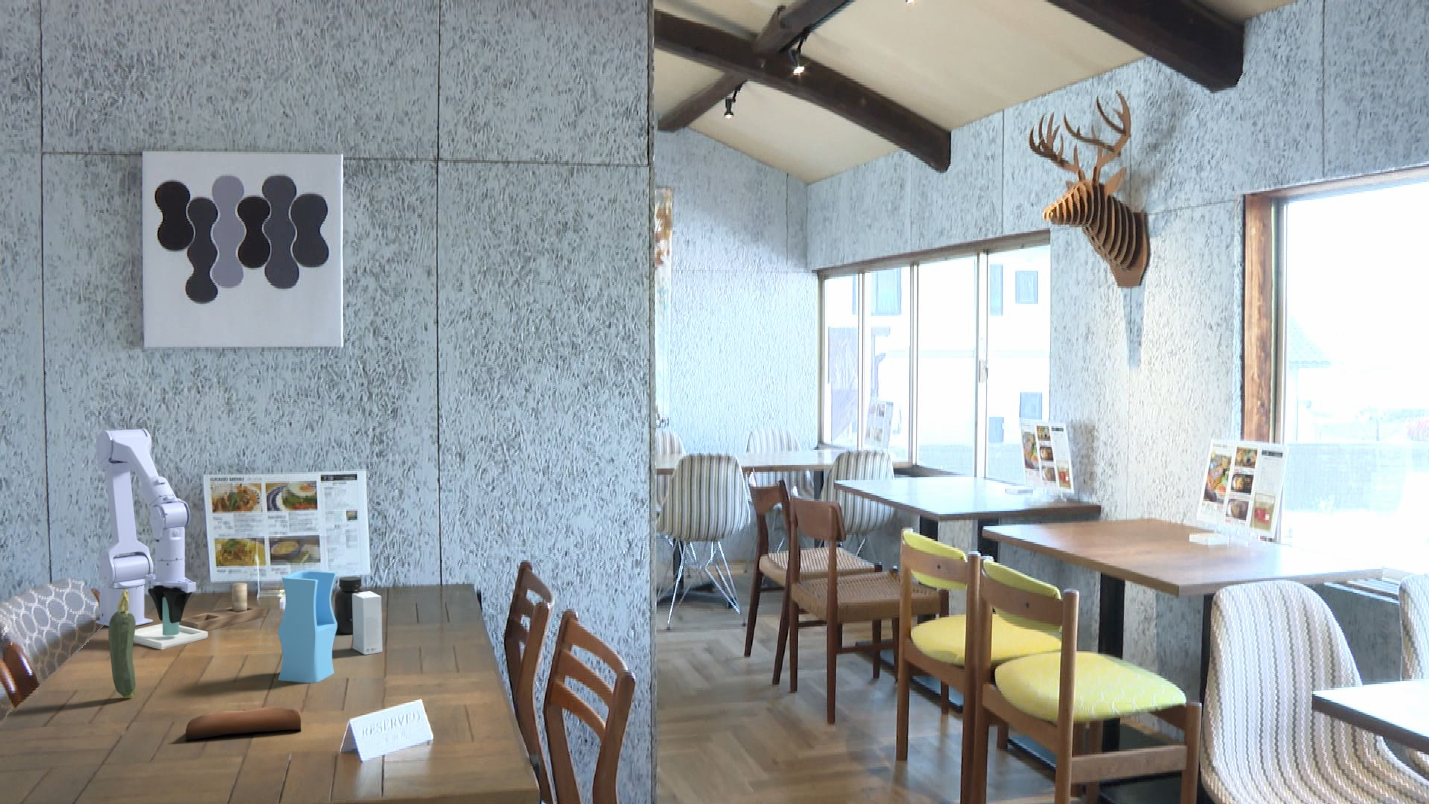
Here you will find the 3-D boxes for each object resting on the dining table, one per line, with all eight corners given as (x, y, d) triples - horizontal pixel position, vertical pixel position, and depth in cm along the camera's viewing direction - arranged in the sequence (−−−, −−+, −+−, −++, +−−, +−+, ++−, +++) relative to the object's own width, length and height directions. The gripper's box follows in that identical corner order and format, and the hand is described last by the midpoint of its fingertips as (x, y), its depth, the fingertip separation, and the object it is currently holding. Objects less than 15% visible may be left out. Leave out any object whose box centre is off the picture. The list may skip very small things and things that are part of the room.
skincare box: (383, 652, 240) (383, 595, 239) (362, 655, 237) (363, 598, 236) (371, 645, 245) (372, 590, 244) (351, 649, 242) (351, 592, 241)
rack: (197, 632, 251) (197, 623, 251) (177, 628, 255) (177, 619, 254) (265, 616, 267) (265, 607, 267) (246, 612, 270) (246, 603, 270)
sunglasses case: (302, 715, 199) (301, 689, 196) (301, 747, 194) (301, 721, 190) (189, 725, 193) (187, 698, 190) (186, 758, 188) (183, 731, 184)
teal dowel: (159, 634, 244) (159, 597, 244) (172, 631, 247) (172, 594, 246) (169, 636, 243) (169, 599, 242) (182, 633, 245) (182, 596, 245)
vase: (315, 683, 218) (315, 580, 216) (278, 680, 219) (278, 577, 218) (336, 672, 225) (337, 572, 224) (300, 668, 227) (301, 569, 226)
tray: (120, 639, 244) (120, 633, 244) (167, 628, 254) (167, 622, 254) (161, 649, 238) (161, 643, 237) (207, 638, 247) (207, 631, 247)
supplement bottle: (359, 635, 252) (359, 582, 252) (329, 634, 253) (329, 581, 252) (369, 627, 259) (369, 575, 259) (339, 626, 259) (340, 574, 259)
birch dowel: (229, 618, 264) (229, 584, 263) (240, 615, 267) (240, 582, 266) (238, 620, 262) (238, 586, 262) (249, 617, 265) (250, 583, 265)
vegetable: (124, 704, 203) (123, 593, 202) (103, 702, 204) (102, 592, 203) (141, 696, 208) (140, 588, 206) (120, 694, 208) (119, 586, 207)
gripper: (131, 557, 244) (132, 619, 245) (174, 565, 237) (174, 629, 237) (161, 552, 250) (162, 613, 251) (204, 560, 243) (204, 622, 244)
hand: (170, 620), depth 245 cm, fingers closed on teal dowel, 3 cm apart
